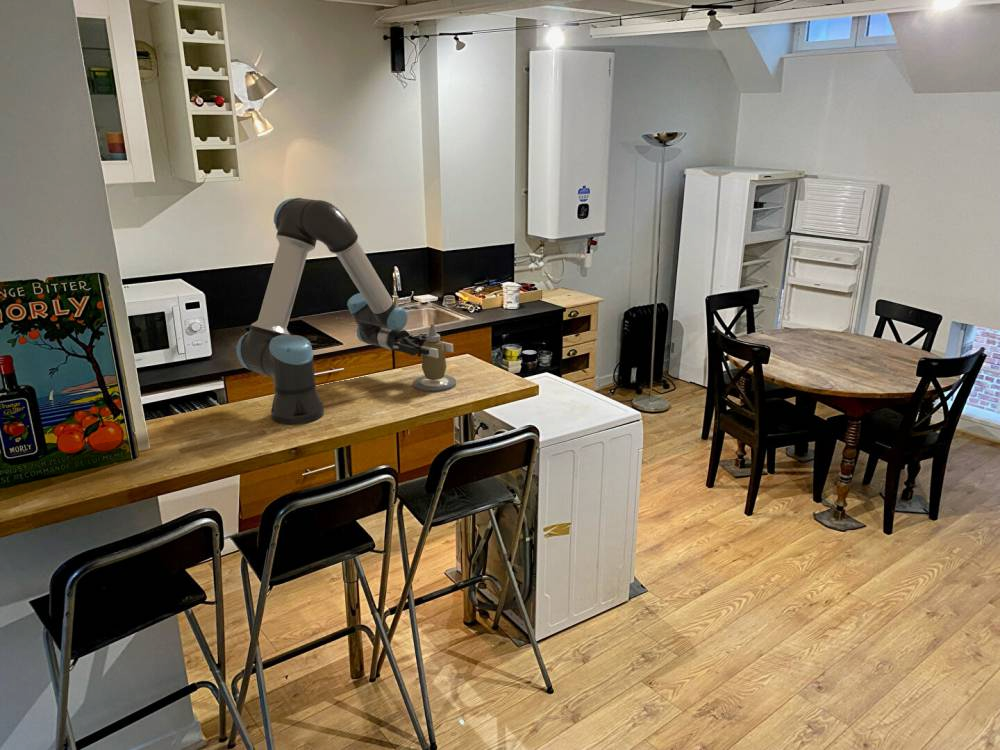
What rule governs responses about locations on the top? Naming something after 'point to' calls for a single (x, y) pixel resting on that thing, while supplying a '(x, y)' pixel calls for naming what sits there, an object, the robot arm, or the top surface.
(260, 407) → the top surface
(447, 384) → the coaster
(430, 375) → the squeeze bottle
